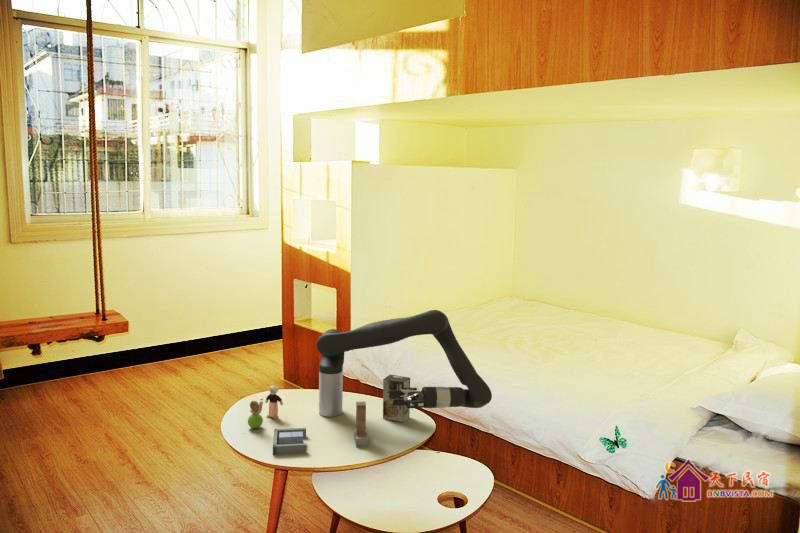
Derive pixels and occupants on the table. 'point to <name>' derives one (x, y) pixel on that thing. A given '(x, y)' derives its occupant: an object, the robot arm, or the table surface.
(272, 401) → the grandmother figurine
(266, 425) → the table surface
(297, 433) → the block
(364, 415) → the tall wooden pillar
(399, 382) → the coffee box
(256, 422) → the snail figurine
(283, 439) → the block
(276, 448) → the grey u-shaped wall
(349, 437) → the table surface
